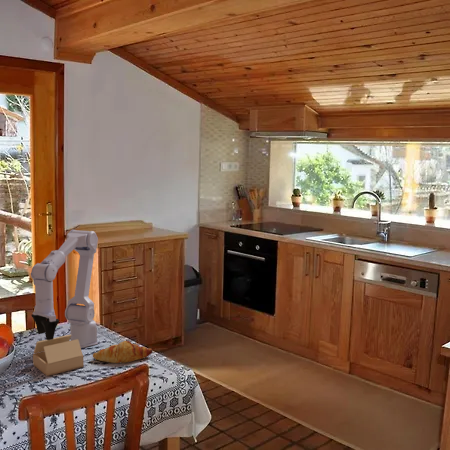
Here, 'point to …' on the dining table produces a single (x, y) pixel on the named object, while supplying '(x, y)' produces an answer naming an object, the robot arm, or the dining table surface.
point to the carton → (56, 364)
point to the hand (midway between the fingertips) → (45, 336)
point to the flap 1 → (50, 342)
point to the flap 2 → (62, 351)
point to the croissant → (122, 353)
